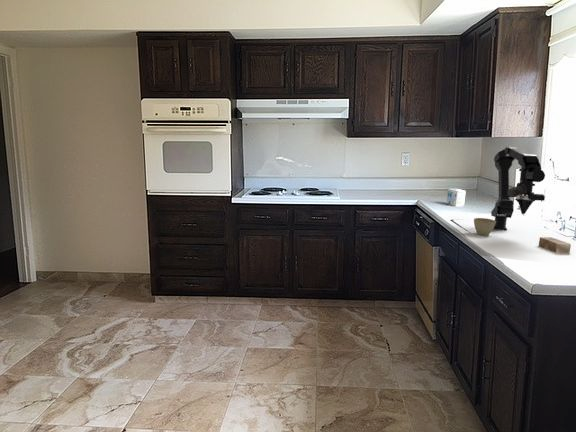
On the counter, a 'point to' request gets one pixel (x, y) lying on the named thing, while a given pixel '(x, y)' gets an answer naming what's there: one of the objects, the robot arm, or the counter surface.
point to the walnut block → (554, 245)
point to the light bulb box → (456, 197)
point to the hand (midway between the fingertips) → (523, 214)
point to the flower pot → (484, 225)
